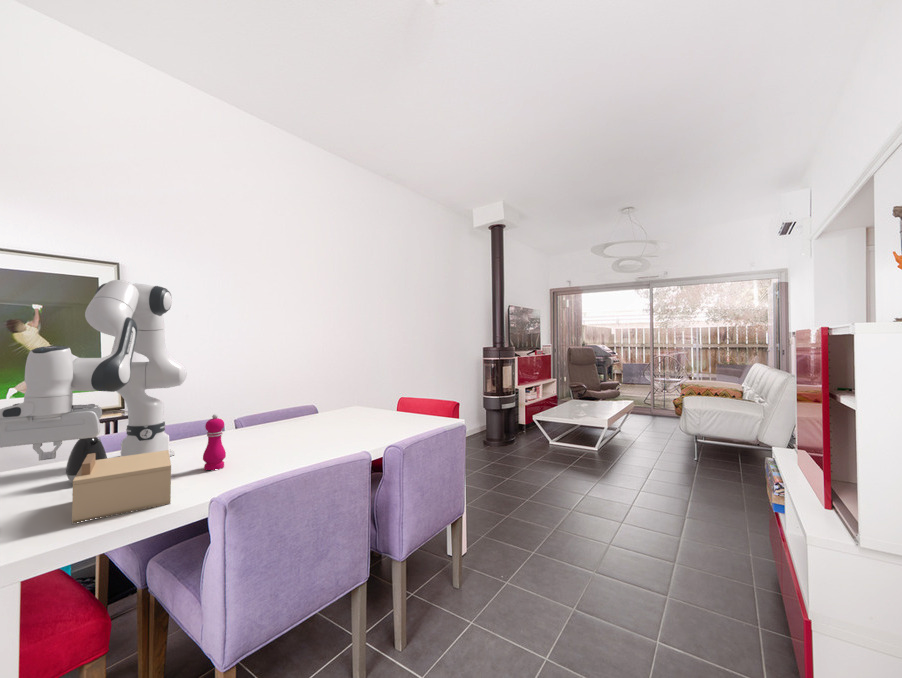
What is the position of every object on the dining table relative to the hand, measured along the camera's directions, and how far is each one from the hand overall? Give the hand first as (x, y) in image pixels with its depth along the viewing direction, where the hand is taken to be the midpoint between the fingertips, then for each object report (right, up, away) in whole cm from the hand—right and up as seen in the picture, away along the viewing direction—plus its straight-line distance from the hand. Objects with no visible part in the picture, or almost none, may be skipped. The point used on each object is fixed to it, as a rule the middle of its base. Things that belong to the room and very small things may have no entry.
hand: (47, 459), depth 99 cm
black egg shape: (-15, -16, +26) cm, 34 cm away
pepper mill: (+19, -16, +40) cm, 47 cm away
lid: (+12, -6, +10) cm, 17 cm away
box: (+12, -16, +10) cm, 22 cm away
